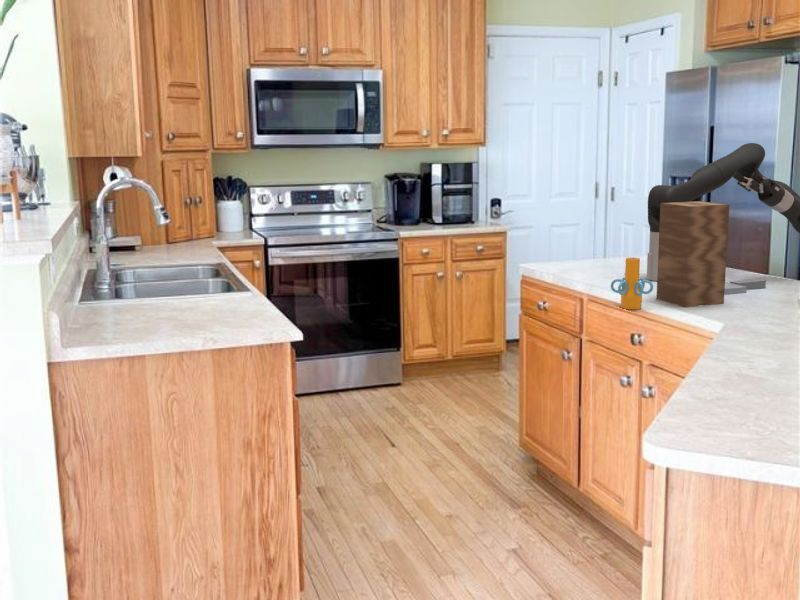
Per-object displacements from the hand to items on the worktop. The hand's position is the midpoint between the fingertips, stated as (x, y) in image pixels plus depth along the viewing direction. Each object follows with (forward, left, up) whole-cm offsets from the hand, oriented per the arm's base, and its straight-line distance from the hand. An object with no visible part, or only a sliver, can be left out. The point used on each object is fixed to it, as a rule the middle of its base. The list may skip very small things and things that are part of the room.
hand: (743, 174), depth 270 cm
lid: (0, -12, -37) cm, 39 cm away
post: (-10, -36, -37) cm, 53 cm away
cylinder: (-25, -53, -37) cm, 69 cm away
